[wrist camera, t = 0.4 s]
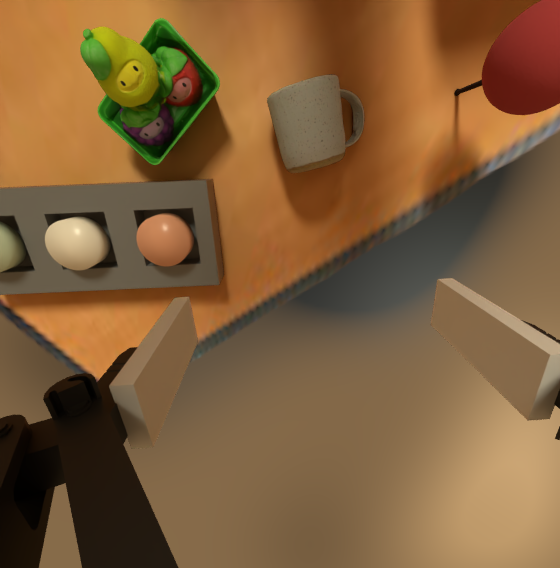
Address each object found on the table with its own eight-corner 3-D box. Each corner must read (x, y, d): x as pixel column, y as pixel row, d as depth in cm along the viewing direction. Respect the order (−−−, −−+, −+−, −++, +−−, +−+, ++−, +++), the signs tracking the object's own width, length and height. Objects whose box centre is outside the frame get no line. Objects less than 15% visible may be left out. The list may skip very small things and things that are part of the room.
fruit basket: (170, 169, 36) (130, 170, 26) (108, 111, 34) (36, 87, 23) (230, 94, 34) (211, 61, 23) (167, 25, 31) (115, -47, 21)
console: (-41, 189, 36) (-77, 191, 33) (212, 178, 37) (206, 180, 33) (0, 284, 41) (-26, 295, 38) (223, 274, 42) (219, 284, 38)
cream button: (52, 217, 35) (37, 221, 32) (102, 215, 35) (90, 218, 32) (68, 264, 37) (54, 271, 35) (115, 262, 37) (105, 269, 35)
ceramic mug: (284, 175, 37) (289, 177, 30) (266, 104, 34) (266, 87, 27) (365, 150, 36) (390, 146, 29) (353, 75, 33) (377, 50, 26)
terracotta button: (140, 213, 35) (131, 217, 33) (190, 211, 35) (184, 214, 33) (150, 261, 37) (142, 267, 35) (197, 259, 37) (192, 265, 35)
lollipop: (452, 142, 36) (565, 128, 22) (412, 96, 34) (509, 47, 20) (504, 87, 34) (665, 33, 20) (466, 34, 32) (615, -67, 18)
